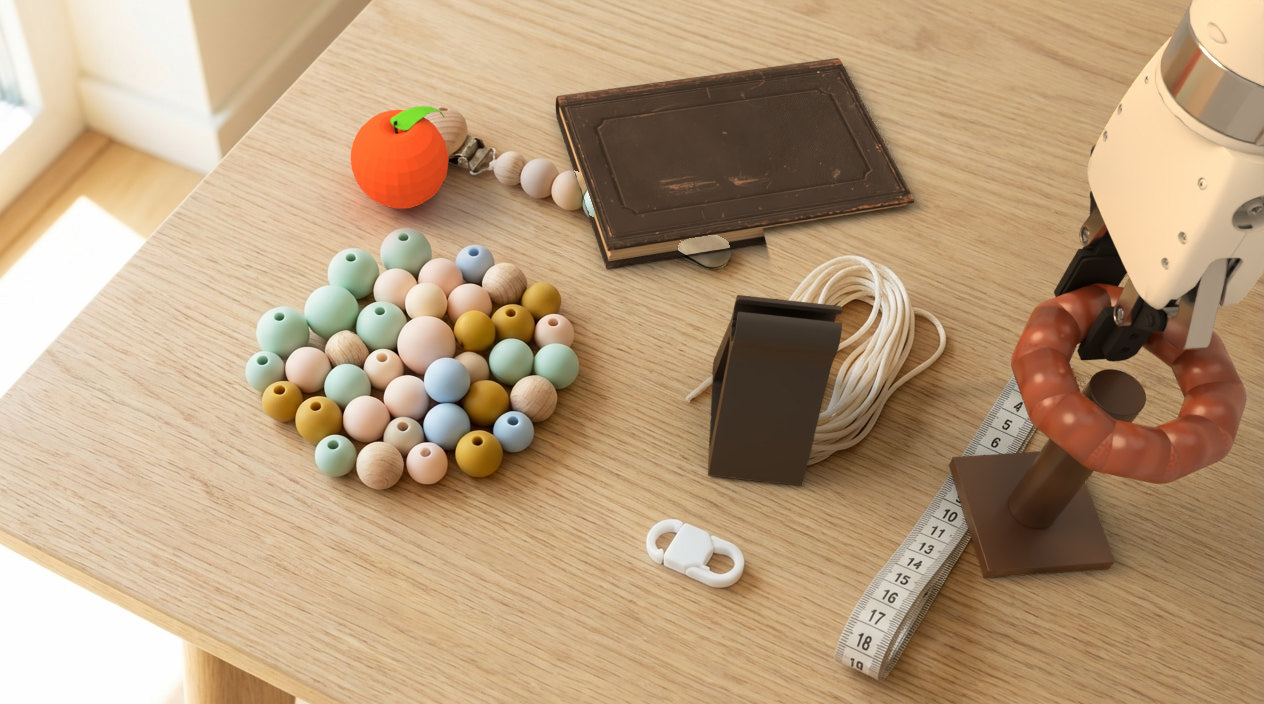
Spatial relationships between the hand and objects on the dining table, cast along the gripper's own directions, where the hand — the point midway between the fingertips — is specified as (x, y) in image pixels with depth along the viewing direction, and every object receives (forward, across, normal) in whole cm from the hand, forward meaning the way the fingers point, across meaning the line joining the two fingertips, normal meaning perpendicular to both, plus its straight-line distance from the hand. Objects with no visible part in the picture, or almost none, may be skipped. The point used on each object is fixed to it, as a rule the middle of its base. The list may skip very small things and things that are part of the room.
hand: (1093, 323), depth 67 cm
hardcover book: (+14, +26, +14) cm, 33 cm away
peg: (+14, -4, 0) cm, 15 cm away
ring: (-1, -4, 0) cm, 4 cm away
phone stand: (+14, +4, +16) cm, 22 cm away
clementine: (+14, +26, +38) cm, 48 cm away
